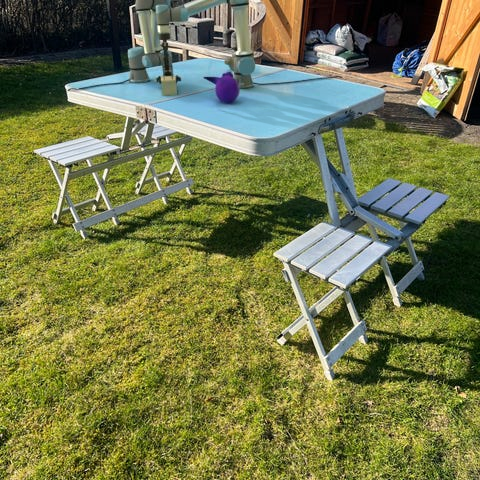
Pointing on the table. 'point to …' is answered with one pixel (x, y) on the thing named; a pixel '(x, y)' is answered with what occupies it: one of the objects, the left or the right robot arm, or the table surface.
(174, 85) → the chest
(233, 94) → the toy
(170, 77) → the beige boxy piece
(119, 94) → the table surface
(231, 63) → the teapot
